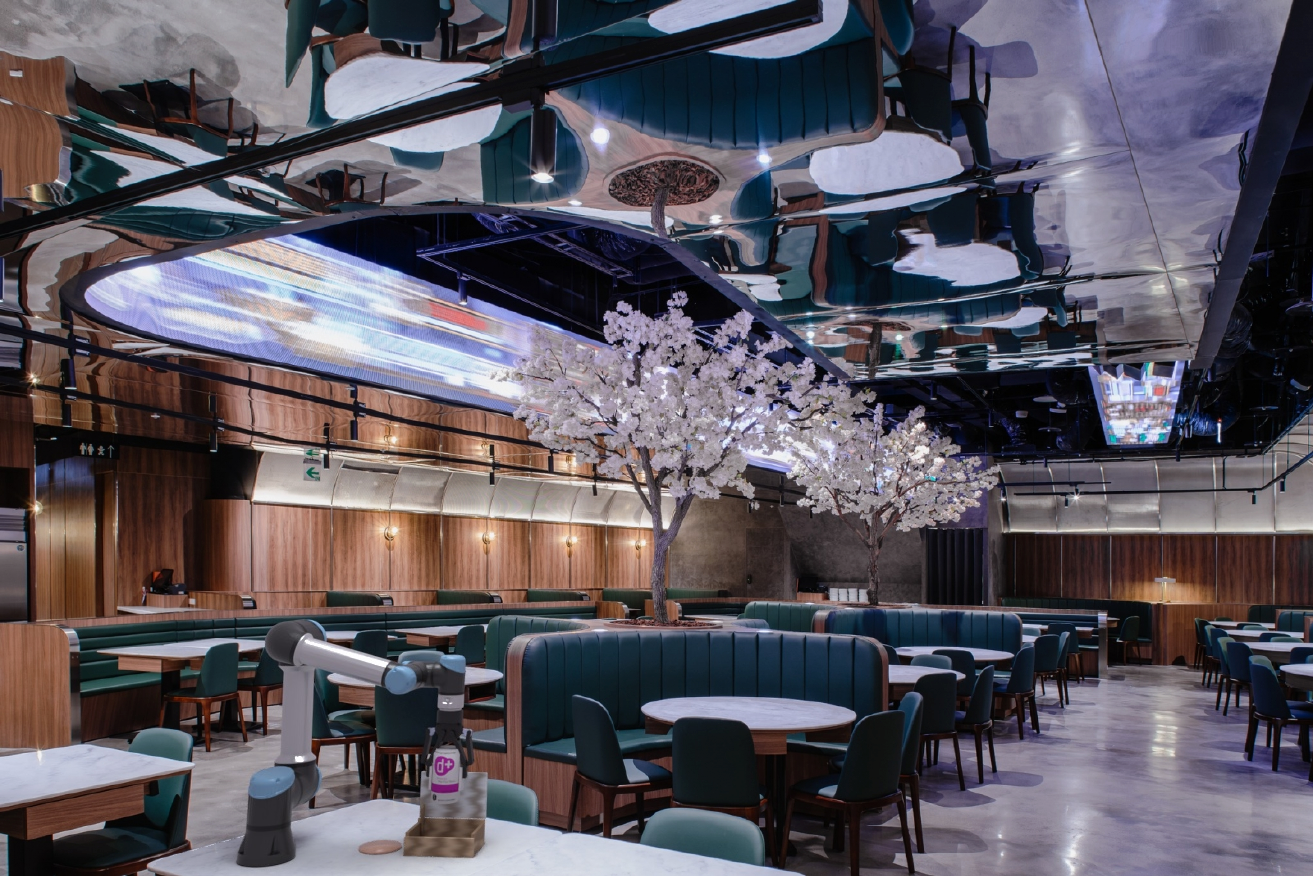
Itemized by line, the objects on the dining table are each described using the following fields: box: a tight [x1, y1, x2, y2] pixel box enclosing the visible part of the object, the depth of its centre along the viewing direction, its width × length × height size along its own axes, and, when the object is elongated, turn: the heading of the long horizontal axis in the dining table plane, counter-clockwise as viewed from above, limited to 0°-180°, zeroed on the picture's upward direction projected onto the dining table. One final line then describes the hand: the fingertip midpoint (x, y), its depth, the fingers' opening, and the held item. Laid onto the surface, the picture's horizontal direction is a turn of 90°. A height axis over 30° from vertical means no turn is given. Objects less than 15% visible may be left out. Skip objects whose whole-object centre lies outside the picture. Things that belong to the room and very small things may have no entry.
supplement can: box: [431, 744, 462, 804], centre depth 261 cm, size 8×8×15 cm
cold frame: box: [402, 770, 488, 859], centre depth 260 cm, size 20×14×20 cm
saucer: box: [358, 839, 403, 856], centre depth 259 cm, size 12×12×1 cm
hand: (445, 789), depth 260 cm, fingers closed on supplement can, 8 cm apart
